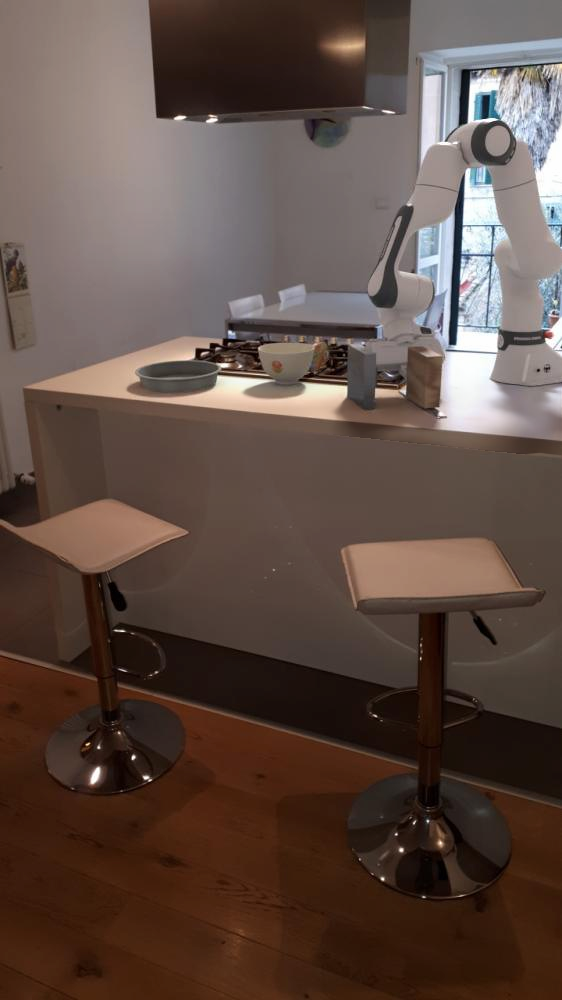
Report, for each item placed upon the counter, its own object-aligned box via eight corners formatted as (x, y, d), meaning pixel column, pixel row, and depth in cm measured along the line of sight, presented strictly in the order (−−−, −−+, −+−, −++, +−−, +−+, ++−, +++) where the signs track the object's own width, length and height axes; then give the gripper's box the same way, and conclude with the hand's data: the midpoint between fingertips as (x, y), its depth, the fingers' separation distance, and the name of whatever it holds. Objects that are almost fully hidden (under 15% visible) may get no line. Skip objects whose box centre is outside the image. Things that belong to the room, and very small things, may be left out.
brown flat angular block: (420, 394, 212) (422, 346, 208) (439, 407, 201) (442, 356, 196) (405, 395, 212) (407, 347, 207) (424, 408, 200) (427, 356, 195)
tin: (311, 377, 238) (311, 348, 234) (301, 376, 239) (301, 347, 236) (330, 366, 250) (331, 339, 247) (321, 366, 251) (321, 339, 248)
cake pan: (171, 371, 248) (170, 357, 247) (238, 379, 237) (237, 364, 235) (118, 388, 229) (116, 372, 227) (187, 398, 217) (186, 382, 215)
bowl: (326, 381, 232) (326, 346, 228) (288, 392, 221) (288, 355, 217) (285, 373, 242) (284, 340, 238) (247, 383, 231) (246, 348, 227)
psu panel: (406, 391, 220) (409, 339, 214) (446, 417, 195) (450, 359, 190) (346, 395, 216) (346, 343, 211) (378, 422, 192) (380, 364, 187)
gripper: (366, 332, 212) (377, 377, 207) (440, 328, 216) (452, 372, 210) (361, 346, 218) (371, 390, 212) (432, 342, 221) (444, 385, 216)
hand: (412, 381), depth 211 cm, fingers closed, pressing on brown flat angular block
